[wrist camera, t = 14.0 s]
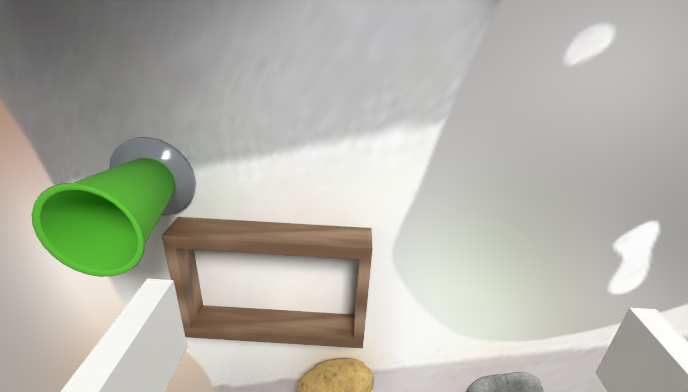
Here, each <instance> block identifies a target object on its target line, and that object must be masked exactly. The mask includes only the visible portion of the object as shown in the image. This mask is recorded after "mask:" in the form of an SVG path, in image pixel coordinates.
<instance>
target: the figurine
mask: <svg viewBox="0 0 688 392" xmlns="http://www.w3.org/2000/svg"><path fill="white" fill-rule="evenodd" d="M468 392H543V388H542V386H541V384H540V382H539V379H537V378H536V377H534V376H532V375H530V374H527V373H521V372H518V373H510V374H505V375H494V376H487V377H483V378H480V379H478V380H477V381H475V382H474V383H473V384H472V385H471V386H470V387H469V388H468Z"/></svg>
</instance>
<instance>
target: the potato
mask: <svg viewBox="0 0 688 392" xmlns="http://www.w3.org/2000/svg"><path fill="white" fill-rule="evenodd" d="M373 382H374V378H373V373H372V371H371V370H370V369H369V368H368V367H367V366H366V365H365V364H364V363H363V362H361V361H358V360H355V359H336V360H328V361H325V362H323V363H320V364H318V365H317V366H316V367H314V368H313V369H312V370H310V371H309V372H307V373H306V374H305V375H304V376H303V377H302V378H301V379H300V382H299V384H298V387H297V392H371V391H372V389H373Z"/></svg>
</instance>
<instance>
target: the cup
mask: <svg viewBox="0 0 688 392" xmlns="http://www.w3.org/2000/svg"><path fill="white" fill-rule="evenodd" d="M174 190H175V179H174V176H173V174H172V172H171V171H170V169H169V168H168V167H167V166H166V165H165V164H163V163H162V162H160V161H158V160H155V159H151V158H139V159H135V160H133V161H130V162H127V163H125V164H122V165H119V166H117V167H114V168H111V169H109V170H106V171H104V172H101V173H98V174H96V175H93V176H90V177H88V178H85V179H82V180H80V181H77V182H74V183H64V184H59V185H55V186H52V187H50V188H48V189H47V190H45V191H44V192H42V193H41V194H40V196H39V197H38V199H37V200H36V202H35V204H34V207H33V211H32V222H33V227H34V230H35V233H36V235H37V237H38V239H39V240H40V242H41V243H42V245H43V246H44V247H45V248H46V250H47V251H49V253H50V254H51V255H52V256H54V257H55V258H56V259H57V260H59V261H60V262H61V263H63V264H64V265H66V266H68V267H70V268H72V269H74V270H76V271H79V272H82V273H85V274H88V275H93V276H100V277H103V276H115V275H119V274H123V273H125V272H127V271H129V270H131V269H132V268H134V267H135V266H136V265H137V264H138V263H139V262H140V260H141V258H142V255H143V253H144V246H145V243H146V241H147V239H148V238H149V236H150V234H151V232H152V231H153V229H154V227H155V225H156V223H157V222H158V220H159V218H160V216H161V214H162V213H163V211H164V209H165V207H166V206H167V204H168V202H169V200H170V198H171V197H172V195H173V193H174Z"/></svg>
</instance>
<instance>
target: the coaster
mask: <svg viewBox="0 0 688 392" xmlns="http://www.w3.org/2000/svg"><path fill="white" fill-rule="evenodd" d="M139 158H151V159H155V160H158V161H160V162H162V163H163V164H165V165H166V166H167V167H168V168H169V169H170V171H171V172H172V174H173V176H174V179H175V190H174V193H173V195H172V197H171V198H170V200H169V202H168V204H167V206H166V207H165V209H164V211H163V213H162V214H161V215H168V214H173V213H176V212H178V211H180V210H182V209H183V208H184V207H185V206H186V205H187V204H188V203H189V202H190V200H191V199H192V197H193V195H194V192H195V186H196V182H195V176H194V172H193V169H192V167H191V165H190V164H189V162H188V161H187V159H186V158H185V157H184V156H183V155H182V154H181V153H180V152H179V151H178V150H177V149H176V148H174V147H173V146H171V145H169V144H168V143H166V142H163V141H161V140H158V139H154V138H147V137H144V138H135V139H132V140H129V141H127V142H125V143H124V144H122V145H121V146H119V147H118V148H117V149H116V150H115V152H114V153H113V155H112V157H111V161H110V169H111V168H114V167H117V166H119V165H122V164H125V163H127V162H130V161H133V160H135V159H139Z"/></svg>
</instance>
